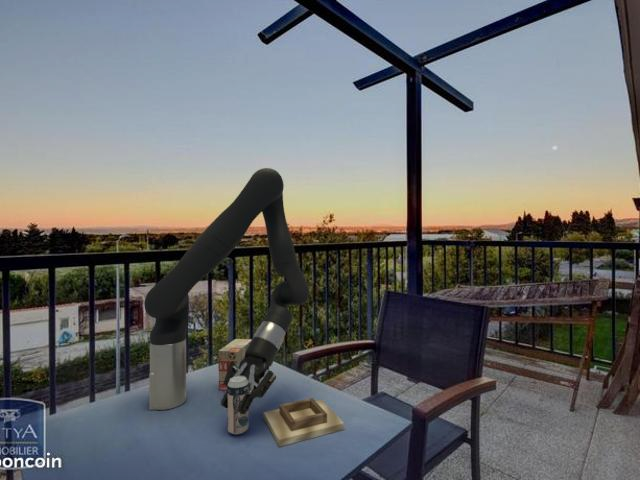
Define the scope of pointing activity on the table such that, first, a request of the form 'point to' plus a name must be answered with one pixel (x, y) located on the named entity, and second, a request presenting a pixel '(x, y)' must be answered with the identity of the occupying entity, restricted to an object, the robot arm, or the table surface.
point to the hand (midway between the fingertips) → (232, 409)
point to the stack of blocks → (231, 358)
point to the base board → (302, 421)
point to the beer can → (237, 405)
